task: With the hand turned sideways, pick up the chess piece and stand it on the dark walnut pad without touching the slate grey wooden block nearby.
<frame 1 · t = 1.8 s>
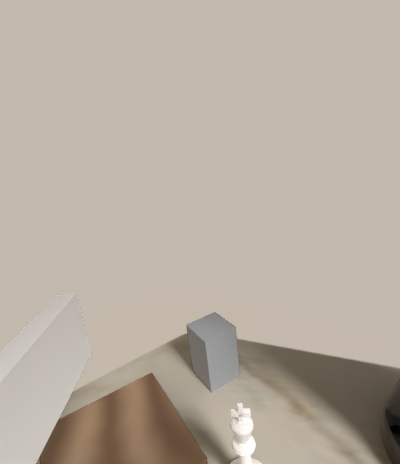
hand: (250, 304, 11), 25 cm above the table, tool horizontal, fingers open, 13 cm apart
walnut pad: (117, 449, 32), on the table
slate block: (216, 372, 42), on the table
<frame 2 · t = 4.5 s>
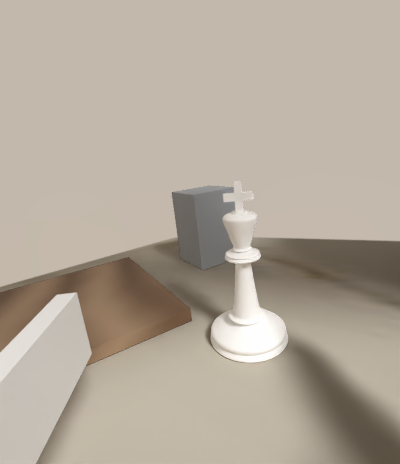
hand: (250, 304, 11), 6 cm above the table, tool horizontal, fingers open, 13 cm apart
chess piece: (248, 338, 18), on the table
walnut pad: (70, 314, 23), on the table
slate block: (209, 258, 33), on the table
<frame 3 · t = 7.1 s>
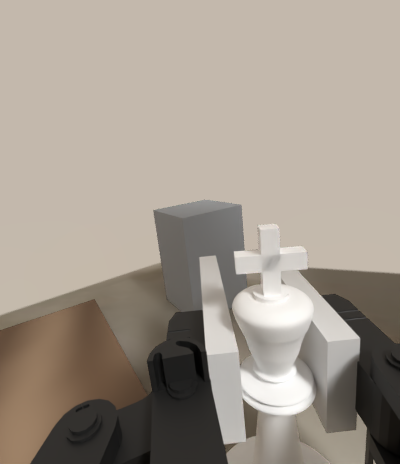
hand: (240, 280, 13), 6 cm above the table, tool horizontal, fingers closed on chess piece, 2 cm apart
slate block: (205, 300, 24), on the table
when the fingers open (8 cm above the table, at t = 12.2 s): chess piece drops 1 cm, resting on walnut pad.
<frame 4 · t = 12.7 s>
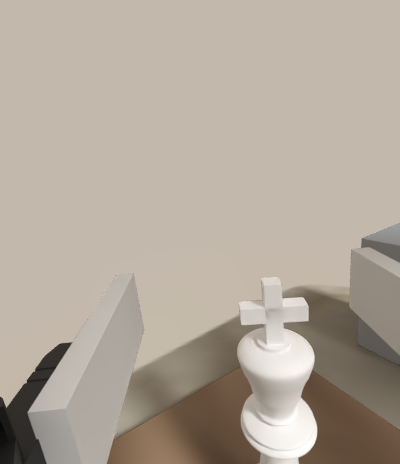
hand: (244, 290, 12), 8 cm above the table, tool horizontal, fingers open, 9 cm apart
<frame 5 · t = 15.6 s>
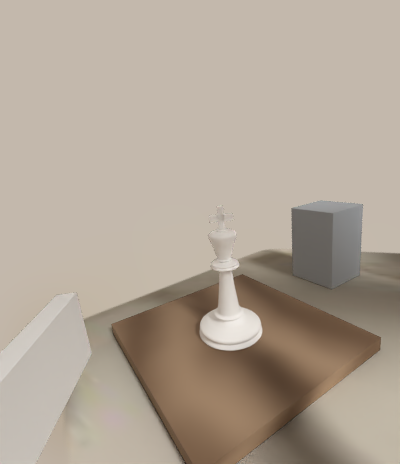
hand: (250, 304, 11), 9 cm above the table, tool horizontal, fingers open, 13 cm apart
chess piece: (230, 332, 22), point 1 cm above the table, touching walnut pad
walnut pad: (231, 340, 23), on the table
slate block: (325, 275, 32), on the table
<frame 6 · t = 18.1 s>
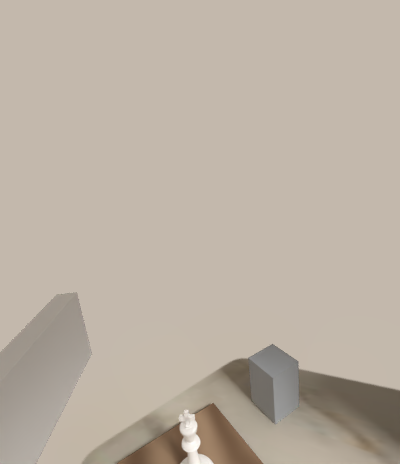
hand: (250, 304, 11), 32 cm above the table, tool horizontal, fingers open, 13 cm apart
slate block: (274, 403, 43), on the table
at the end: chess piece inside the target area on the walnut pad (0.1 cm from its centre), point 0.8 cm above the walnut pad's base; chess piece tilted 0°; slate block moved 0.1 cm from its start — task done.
